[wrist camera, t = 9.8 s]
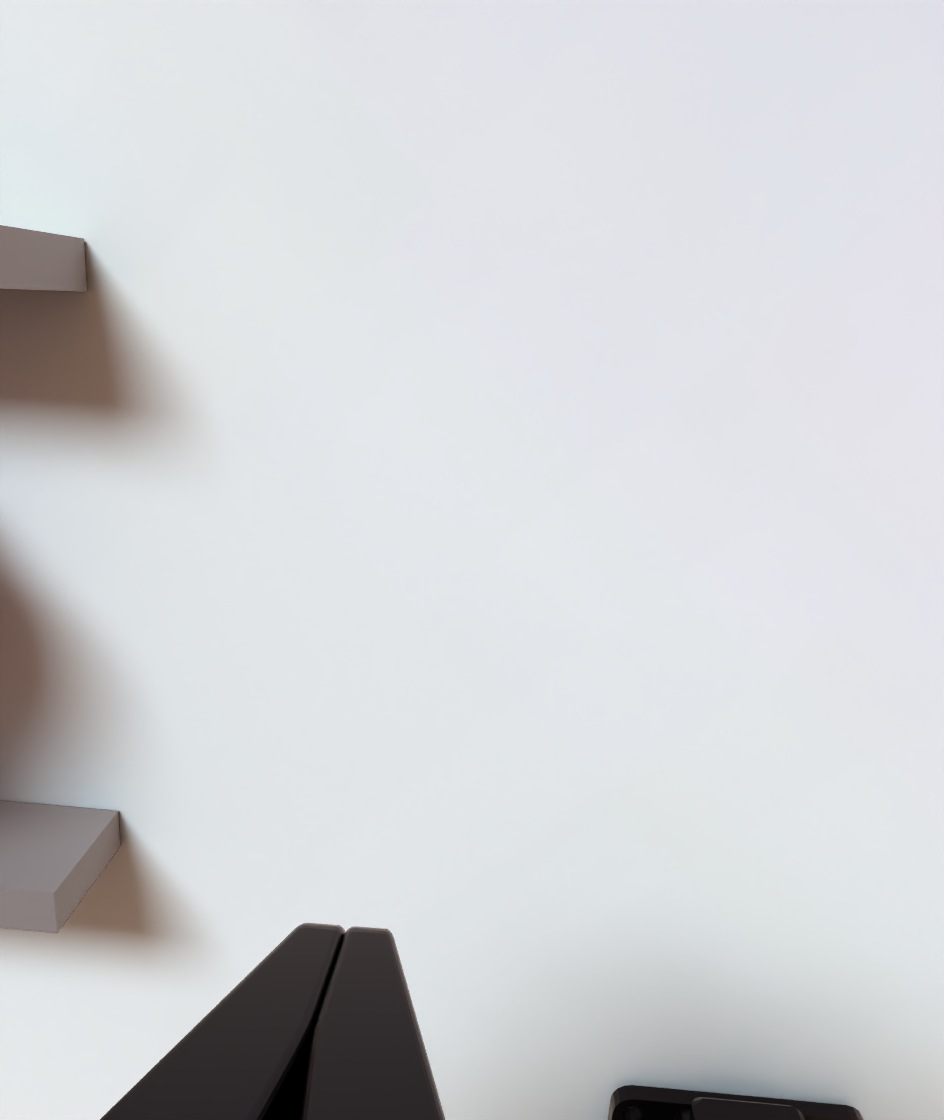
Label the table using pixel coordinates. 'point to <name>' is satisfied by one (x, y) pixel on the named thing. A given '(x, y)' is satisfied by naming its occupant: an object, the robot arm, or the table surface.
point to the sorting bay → (26, 828)
